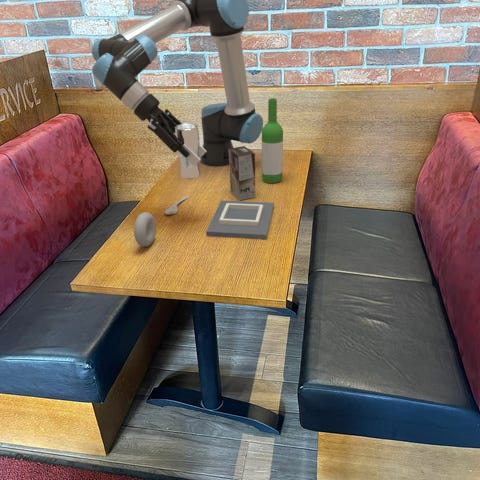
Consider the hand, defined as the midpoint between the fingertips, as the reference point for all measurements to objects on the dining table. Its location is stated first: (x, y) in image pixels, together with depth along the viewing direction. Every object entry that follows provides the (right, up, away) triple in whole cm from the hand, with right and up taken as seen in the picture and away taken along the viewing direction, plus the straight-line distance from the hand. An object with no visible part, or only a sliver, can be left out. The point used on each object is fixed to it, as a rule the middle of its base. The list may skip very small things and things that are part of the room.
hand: (200, 158), depth 135 cm
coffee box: (+13, -8, +26) cm, 30 cm away
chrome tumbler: (-3, -5, +3) cm, 7 cm away
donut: (-15, -26, -3) cm, 30 cm away
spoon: (-9, -12, +21) cm, 26 cm away
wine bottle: (+24, -2, +37) cm, 44 cm away
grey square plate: (+12, -18, +8) cm, 24 cm away
